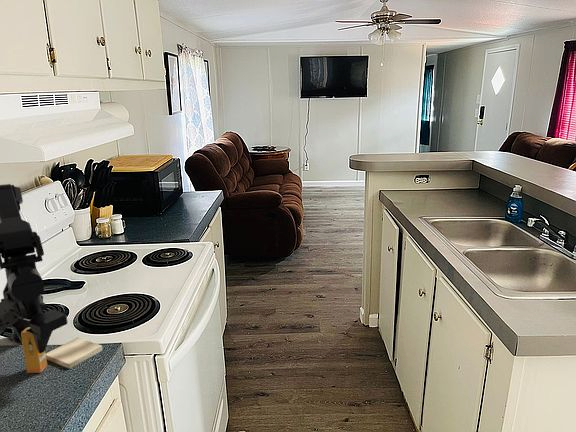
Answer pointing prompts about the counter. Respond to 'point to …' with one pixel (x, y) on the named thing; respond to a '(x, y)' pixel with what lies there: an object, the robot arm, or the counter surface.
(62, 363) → the birch board
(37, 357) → the supplement box
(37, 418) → the counter surface
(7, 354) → the counter surface
